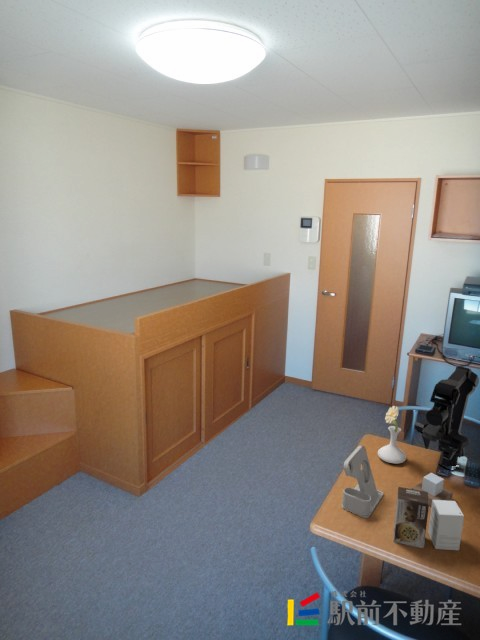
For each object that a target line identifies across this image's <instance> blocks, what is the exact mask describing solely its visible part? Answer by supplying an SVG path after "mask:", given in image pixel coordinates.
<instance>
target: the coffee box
mask: <svg viewBox="0 0 480 640" xmlns="http://www.w3.org/2000/svg"><path fill="white" fill-rule="evenodd" d="M396 497H397V498H396V507H395V514H394V515H395V516H394V518H395V519H394V525H393V526H394V527H393V543H398V544H400V545H401V544H403V545H407V546H411V547H415V548H419V549H425V542H426V534H427V526H428V517H429V516H428V515H429V510H430V509H429V508H430V506H429V497H428V492H425V491H419V490H414V489H412V488H407V487H401V486H398V488H397V495H396Z"/></svg>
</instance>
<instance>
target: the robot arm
mask: <svg viewBox="0 0 480 640" xmlns="http://www.w3.org/2000/svg"><path fill="white" fill-rule="evenodd" d="M479 381H480V378H479V375H478V374H476V373H475V372H474V371H473V370H472V369H471V368H469V367H466V366H461V365H456V367H455V369H454V371H453V372H452V373H451V374H450V375H449V377H448V378H447V379H441V380H440V381H438V382H437V383H436V384H435V385H434V387H433V390H432V393H431V397H430V400H429V402H431V403H432V404H433V403H434V404H433V406H432V407H431V408H430V409H429V410H428V411H427V412H426V413H425V418H422V419H419V420H417V421H416V422H415V423H414V425H413V429H414V430H415V431H416V432H417V433H418V434H420V435H421V438H422V440H423V445H424V448H425V450H428V449H429V446H430V442H433V443H434V442H437V441H438V445H437V449H438V451H439V452H440V451H441V452H442V455H441V456H442V457H441V461H442V462H441V464H442V465H445V466H447V467H448V466H456V465H457V464H458V460H459V458H464V457H465V448H467V447H469V446H470V439H469V437H466V436H464V435H463V434H462V433H461V431H462V425H463V421H464V418H465V414H466V408H467V406H468V402H469V397H470V395H472V394H473V393H474V392H475V390H476V387H478V385H479ZM439 462H440V461H439ZM439 462H437V464H438V463H439Z"/></svg>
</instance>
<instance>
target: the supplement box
mask: <svg viewBox="0 0 480 640" xmlns="http://www.w3.org/2000/svg"><path fill="white" fill-rule="evenodd" d="M464 518H465V515H464V514H463V512H462V510H461V508H460V506H459V505H458V503H457V502H456V500H451V501H446V500H432V507H430V516H429V522H428V523H429V524H428V531H427V534H428V536H429V537H430V540H431V541H432V545H433V546H434V549H435V550H446V551H447V550H448V551H460V545H461V540H462V533H463V527H464Z"/></svg>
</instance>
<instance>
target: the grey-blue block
mask: <svg viewBox="0 0 480 640" xmlns="http://www.w3.org/2000/svg"><path fill="white" fill-rule="evenodd" d="M422 478H423V479H422V482H423V484H422V490H424V491H426V492H428V493H429V494H431V495H433V496H436V495H438V494H439V493H441V492H442V490H443V488H444V482H445V479H444V478H443V477H441V476H438V475H437V474H434V473H433V472H429V473H428V474H426V475H425V476H423V477H422Z"/></svg>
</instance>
